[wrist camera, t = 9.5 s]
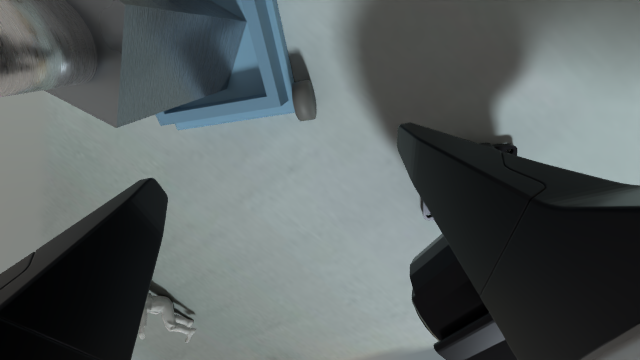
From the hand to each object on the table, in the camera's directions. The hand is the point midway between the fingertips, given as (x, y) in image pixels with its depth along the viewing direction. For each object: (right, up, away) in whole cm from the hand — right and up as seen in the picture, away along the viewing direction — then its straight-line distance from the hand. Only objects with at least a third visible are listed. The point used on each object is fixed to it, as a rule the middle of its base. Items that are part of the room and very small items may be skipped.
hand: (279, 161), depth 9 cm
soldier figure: (-21, -18, +29) cm, 40 cm away
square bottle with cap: (-7, +9, +9) cm, 15 cm away
